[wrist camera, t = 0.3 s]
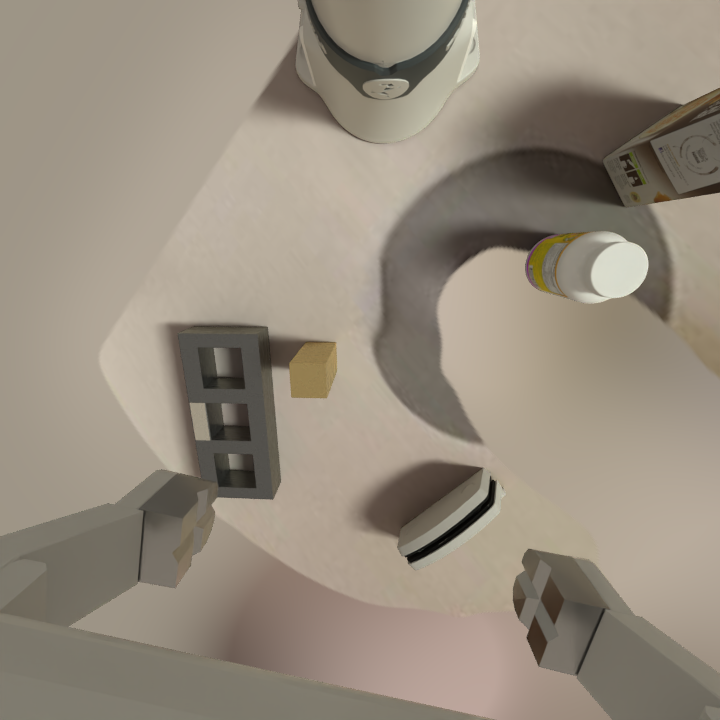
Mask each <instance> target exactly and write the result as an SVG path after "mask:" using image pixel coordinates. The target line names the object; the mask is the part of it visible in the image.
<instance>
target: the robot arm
mask: <svg viewBox="0 0 720 720" xmlns="http://www.w3.org/2000/svg"><path fill="white" fill-rule="evenodd" d="M298 7H299V9H301V17H300V26H299V35H298V44H297V53H296V62H295V65H296V70H297V74H298V76H299V78H300V79H301V80H302V81H303V82H304V83H305V84H306V85H307V86H308V87H310V88H311V89H312V90H314V91H315V92H317V93H318V94H319V95H320V96H321V97H322V99H323V100H324V102H325V104H326V105H327V107H328V109H329V110H330V112H331V114H332V115H333V116H334V118H335V119H336V120H337V121H338V123H339V124H340V125H341V126H342V127H343V128H345V129H346V130H347V131H348V132H350V133H351V134H353V135H354V136H356V137H358V138H360V139H363V140H366V141H369V142H374V143H394V142H398V141H402V140H405V139H407V138H409V137H411V136H413V135H415V134H417V133H418V132H420V131H421V130H422V129H424V128H425V127H426V126H427V125H428V124H429V123H430V122H431V121H432V120H433V119H434V118H435V117H436V115H437V114H438V113H439V111H440V110H441V108H442V107H443V105H444V104H445V102H446V100H447V99H448V97H449V96H450V94H451V93H452V92H453V91H454V89H456V88H457V87H459V86H460V85H461V84H463V83H464V82H465V81H466V80H468V79H469V78H470V77H471V76H472V75H473V74H474V72H475V71H476V69H477V67H478V63H479V58H480V54H479V42H478V30H477V19H476V7H475V0H298ZM217 494H218V484H217V482H215V481H211V480H206V479H202V478H198V477H194V476H189V475H185V474H181V473H180V474H179V473H177V472H172V471H167V470H162V469H161V470H157V471H155V472H154V473H153V474H151V475H150V476H149V477H148V478H146V479H145V480H144V481H143V482H142V483H141V484H139V485H138V486H137V487H135V488H134V489H133V490H132V491H131V492H129V493H128V494H127V495H126V496H124V497H123V498H122V499H121V500H120V501H118V502H117V503H116V504H115V505H114V504H109V503H108V504H104V505H101V506H98V507H95V508H92V509H88V510H85V511H81V512H78V513H75V514H72V515H69V516H65V517H62V518H59V519H56V520H52V521H49V522H46V523H43V524H39V525H36V526H33V527H29V528H26V529H23V530H19V531H16V532H13V533H10V534H7V535H4V536H0V720H494V719H490V718H485V717H480V716H476V715H471V714H467V713H462V712H458V711H453V710H449V709H444V708H439V707H435V706H430V705H426V704H421V703H416V702H412V701H407V700H403V699H398V698H393V697H388V696H384V695H379V694H374V693H370V692H366V691H360V690H356V689H352V688H347V687H343V686H338V685H333V684H328V683H324V682H319V681H314V680H310V679H306V678H301V677H296V676H291V675H287V674H282V673H278V672H273V671H268V670H264V669H259V668H255V667H250V666H245V665H241V664H236V663H232V662H226V661H222V660H218V659H213V658H208V657H204V656H199V655H195V654H190V653H186V652H181V651H176V650H172V649H167V648H163V647H158V646H153V645H149V644H144V643H140V642H134V641H130V640H126V639H121V638H116V637H112V636H107V635H103V634H98V633H93V632H89V631H84V630H80V629H75V628H70V627H69V626H70V625H72V624H73V623H75V622H76V621H78V620H80V619H81V618H83V617H85V616H86V615H88V614H90V613H91V612H93V611H94V610H96V609H98V608H99V607H101V606H103V605H104V604H106V603H107V602H109V601H111V600H112V599H114V598H115V597H117V596H119V595H120V594H122V593H123V592H125V591H127V590H128V589H130V588H131V587H133V586H135V585H136V584H137V583H138V582H143V583H149V584H154V585H159V586H165V587H170V588H176V587H177V585H178V584H179V582H180V581H181V579H182V578H183V576H184V575H185V573H186V572H187V571H188V569H189V567H190V566H191V561H192V556H193V555H195V554H197V553H198V552H200V551H201V550H202V548H203V546H204V545H205V544H206V542H207V540H208V537H209V535H210V533H211V530H212V527H213V523H214V518H215V511H214V509H213V507H212V506H211V505H212V503H213V502H214V501H215V499H216V498H217ZM522 564H523V566H524V569H525V571H523V572H522V573H521V574H519V575H518V576H516V580H515V583H514V586H513V603H514V608H515V611H516V614H517V616H518V619H519V620H520V621H521V622H522V623H523V624H524V625H525V626H526V627H527V628H528V629H529V632H528V634H527V640H528V643H529V645H530V647H531V649H532V652H533V654H534V656H535V659H536V661H537V664H538V666H539V667H542V668H546V669H550V670H554V671H558V672H562V673H567V674H570V675H575V676H577V679H578V680H579V681H580V683H581V684H582V685H583V686H584V687H585V688H586V690H587V691H588V692H589V693H590V694H591V695H592V697H593V698H594V699H595V700H596V701H597V702H598V704H599V705H600V706H601V707H602V708H603V709H604V711H605V712H606V713H607V714H608V715H609V716H610V718H611V719H612V720H720V673H718V672H717V671H715V670H714V669H713V668H711V667H710V666H708V665H707V664H706V663H704V662H703V661H702V660H700V659H699V658H697V657H696V656H695V655H693V654H692V653H691V652H689V651H688V650H687V649H685V648H684V647H682V646H681V645H680V644H678V643H677V642H675V641H674V640H672V639H671V638H670V637H668V636H667V635H666V634H664V633H663V632H662V631H660V630H659V629H657V628H656V627H655V626H653V625H652V624H651V623H649V622H648V621H647V620H645V619H644V618H642V617H639V616H635V615H634V614H633V612H632V611H631V610H630V608H629V607H628V606H627V605H626V603H625V602H624V601H623V599H622V598H621V597H620V596H619V594H618V593H617V592H616V591H615V589H614V588H613V587H612V585H611V584H610V583H609V582H608V580H607V579H606V578H605V576H604V575H603V574H602V573H601V571H600V570H599V569H598V568H597V566H596V565H595V564H594V563H593V562H591V561H590V560H588V559H583V558H578V557H572V556H564V555H559V554H554V553H549V552H544V551H539V550H533V549H528V550H527V551H526V552H525V554H524V556H523V559H522Z"/></svg>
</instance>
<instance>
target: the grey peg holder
mask: <svg viewBox="0 0 720 720" xmlns="http://www.w3.org/2000/svg"><path fill="white" fill-rule="evenodd" d="M178 339H179V345H180V351H181V357H182V363H183V369H184V375H185V381H186V387H187V393H188V400H189V406H190V412H191V418H192V424H193V430H194V436H195V442H196V448H197V454H198V460H199V466H200V472H201V478H202V479H206V480H211V481H215V482H217V484H218V494H217V497H224V498H249V499H274V497H275V494H276V492H277V490H278V487H279V485H280V483H281V476H280V464H279V452H278V441H277V429H276V417H275V406H274V394H273V382H272V370H271V359H270V347H269V335H268V327H215V326H194V327H191V328H189V329H187V330H184V331H182V332H180V333H178ZM213 348H241V353H242V362H243V371H244V378H217V371H216V364H215V356H214V349H213ZM221 403H235V404H247V407H248V416H249V425H250V427H248V426H224V423H223V415H222V408H221ZM228 454H253V461H254V470H255V471H243V470H230V467H229V459H228Z"/></svg>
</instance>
